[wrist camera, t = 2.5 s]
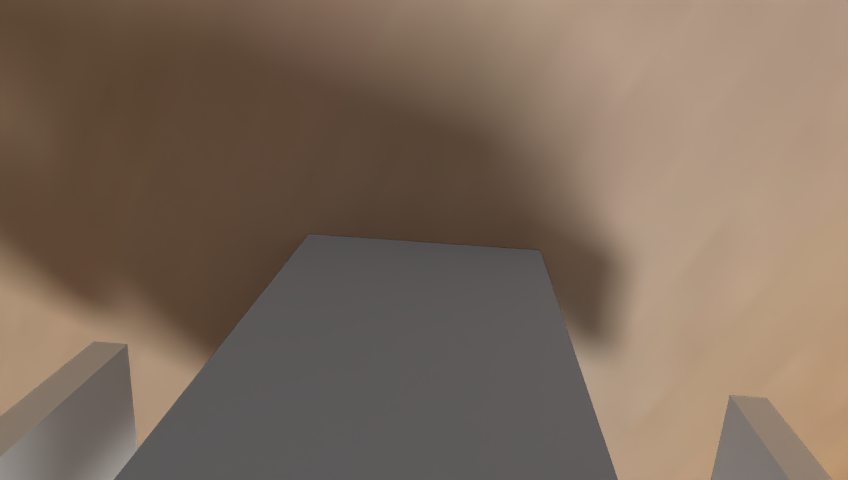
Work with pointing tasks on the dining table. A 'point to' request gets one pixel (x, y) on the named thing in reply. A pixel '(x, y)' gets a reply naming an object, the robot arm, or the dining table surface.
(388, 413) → the block
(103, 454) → the robot arm
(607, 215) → the dining table surface
